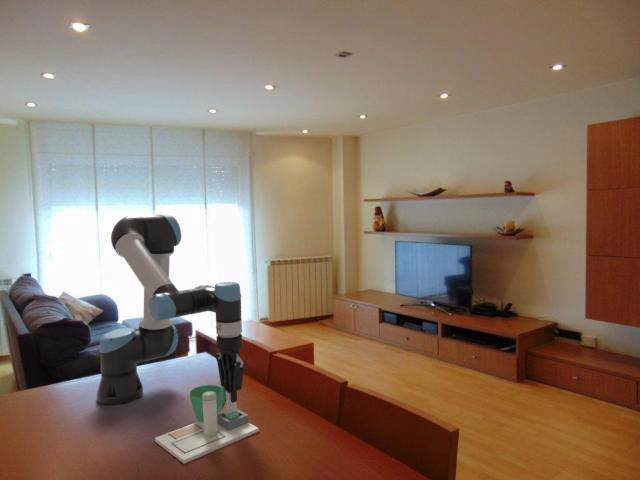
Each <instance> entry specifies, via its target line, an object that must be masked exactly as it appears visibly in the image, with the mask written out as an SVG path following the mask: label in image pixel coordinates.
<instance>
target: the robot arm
mask: <svg viewBox="0 0 640 480" xmlns="http://www.w3.org/2000/svg"><path fill="white" fill-rule="evenodd" d="M111 231H112V232H111V237H110V242H111V246H112V248H113V250H114V251H115V253H116V254H117V255H118V256H119V257H122V258H124V260H125V262H126V263H127V264H128V266H129V268H130V269H131V270H132V272H133V273H134V275H135V277H136V278H137V279H138V281H139V283H141V285H142V287H143V318H142V319H141V320H140V321H139V322H138V330H135V329H134V328H133V327H124V328H117V329H114V330H111V331H110V330H109V331H108V332H106V333H104V334H103V335H102V336H101V337H100V339H99V347H98V348H99V349H98V351H99V356H100V357H99V359H100V374H101V376H100V377H101V378H100V382H99V385H98V389H97V392H96V401H97V402H98V403H99V404H101V405H107V406H108V405H120V404H126V403H130V402H132V401H134V400H137V399H138V398H141V397H142V396H143V394H144V386H143V383H142V382H141V379H140V377H139V376H140V375H139V374H138V368H137V365H138V364H139V363H143V362H148V361H151V360H157V359H162V358H164V357H166V356H170V355H172V354H173V353H174V352H175V350H176V349H177V346H178V342H179V334H178V333H177V332H178V330H177V327H176V326H175V325H174V324H173V322H172V320H171V319H175V318H179V317H184V316H188V315H194V314H199V313H200V314H201V313H204V312H205V313H206V312H211V313H214V314H215V329H216V330H215V331H216V335H217V336H216V348H217V350H219V352H218V353H216V354H215V356H214V357H215V359H216V363H217V368H218V375H219V380H220V384H221V386H224V389H225V390H226V402H225V404H226V411H227V412H228V413H232V412H235V411H237V409H238V391H241V390H242V388H243V379H244V371H245V367H246V364H247V362H246V360H242V359H241V353H240V349H241V347H243V335H242V332H243V326H242V325H243V322H242V294H241V286H240V284H239V283H237V282H235V281H223V282H218V283H216V284H215V285H214V286H211V285H208V284H207V285H198V286H196V287H195V288H190V289H184V290H178V289H177V287H176V286H175V285H174V283H173V282H172V280H171V279H170V259H171V258H170V257H171V256H172V255H173V254H174V253H175V247H177V246H178V245H179V244H181V240H182V230H181V227H180V225H179V222H178V219H176V218H175V216H173V215H170V214H162V213H158V214H139V215H138V214H137V215H136V214H134V215H133V214H132V215H127V216H124V217H123V218H121V219H119V220H118V222H117V223H115V225H114V226H113V228H112V230H111Z"/></svg>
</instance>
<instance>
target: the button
mask: <svg viewBox="0 0 640 480" xmlns="http://www.w3.org/2000/svg"><path fill="white" fill-rule="evenodd" d="M238 410H239V409H238ZM238 410H237V411H235V412H232V413H228V412H227V410H226V412H225V411H224V412H225V418H226V419H228V420H232V419H234V418H237V417H239V411H238Z"/></svg>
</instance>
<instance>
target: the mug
mask: <svg viewBox="0 0 640 480" xmlns="http://www.w3.org/2000/svg"><path fill="white" fill-rule="evenodd" d="M210 391H212V392H216V403H217V415H218V414H220V412H221V411H222V409H223V408H224V406H225V404H226V390H225V389H224V386H221V383H220V384H218V385H214V384H206V385H200V386H196V387H194V388H193V389H191V390H190V391H189V398H190V402H191V407H192V409H193V410H192V411H193V413H194V415H195V418H196V420H197V422H199V421H200V422H204V418H203V400H202V394H203V393H205V392H210Z"/></svg>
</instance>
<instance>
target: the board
mask: <svg viewBox="0 0 640 480" xmlns="http://www.w3.org/2000/svg"><path fill="white" fill-rule="evenodd" d="M237 410H238V411H239V417H237V418H234V419H232V420H228V419H226V418H225V412H226V411H227V410H226V411H222V412H221V413H220V412H219V413H218V415H217V424H218V431H217V432H216V436H214V437H206V433H204V422H200V421H199V422H198V421H196V422H194V423H191V424H188V425H186V426H183V427H180V428H178V429H175V430H173V431H169V432H166V433H164V434H161V435H159V436H156V437H154V442H155V443H157V445H159V446H160V447H162V449H164V450H166V451H167V452H168V453H169V454H170V455H172V456H173V457H174V458H176V459H177V460H178V461H179V462H181V463H182V464H187V463H189V462H191V461H193V460H196V459H198V458H200V457H203V456H205V455H208V454H210V453H212V452H214V451H217V450H218V449H221V448H223V447H226V446H229V445H230V444H233V443H235V442H239V441H240V440H241V439H245V438H248V436H251V435H254V434H257V433H258V432H259V430H260V429H259V427H257V426H256V425H254V424H252V423H250V422H249V414H248V413H246V412H244V411H242V410H240V409H238V408H237Z"/></svg>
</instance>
